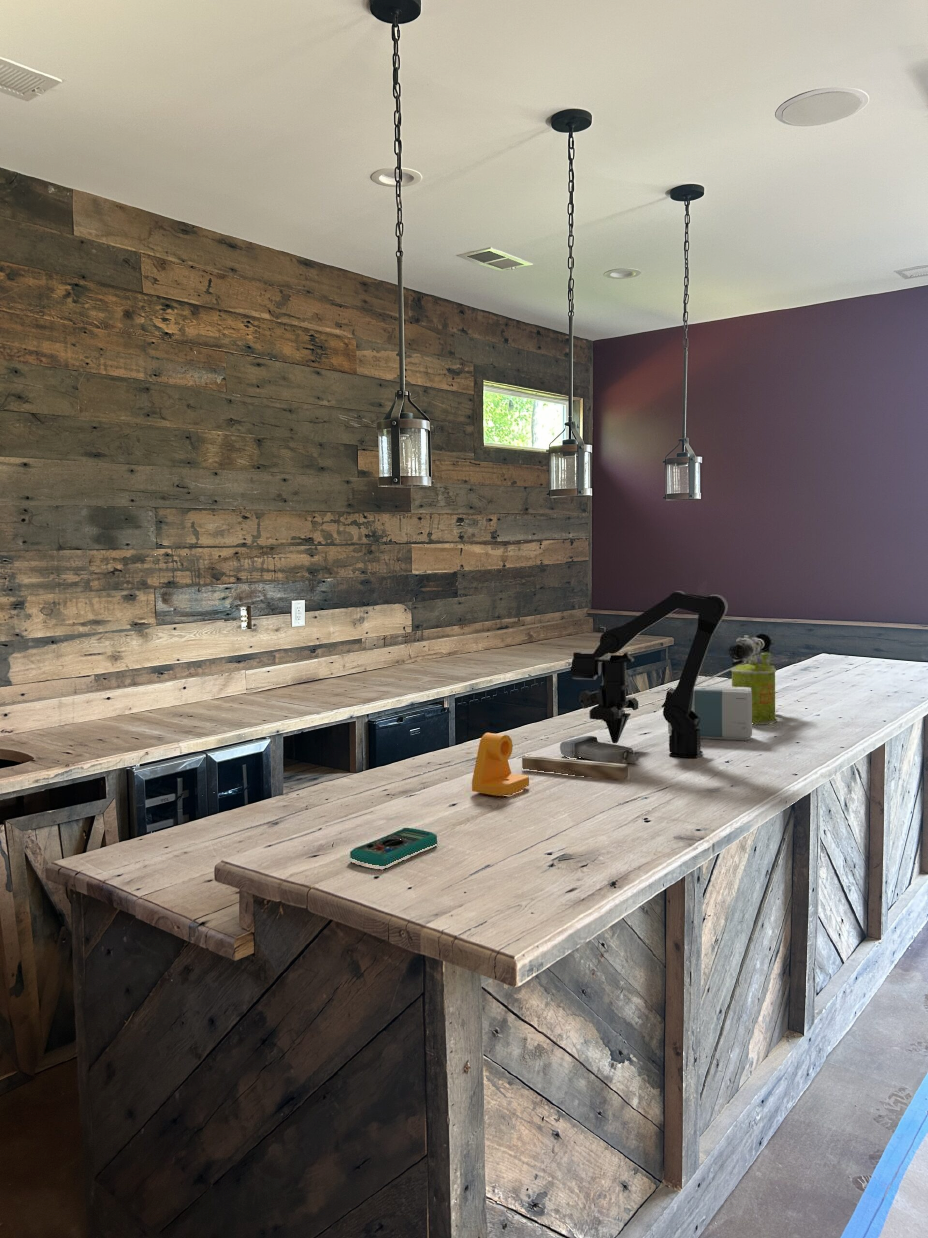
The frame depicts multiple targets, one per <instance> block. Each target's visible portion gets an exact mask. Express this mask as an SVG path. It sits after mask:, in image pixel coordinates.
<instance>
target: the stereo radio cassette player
mask: <svg viewBox="0 0 928 1238" xmlns="http://www.w3.org/2000/svg"><path fill="white" fill-rule="evenodd" d="M744 664H747V661H744V662H743V663H741V664H739V665H744ZM739 665H737V666H739ZM737 666H732V667H730V668H727V669H725V670H723V671H722V672H721V671H720V672H719V673H717V674H715V675H712V676H710V677H708V678H707V679H704V680H702V681H700V682H699V681H698V682H696V684H695V687H694V693H693V702H692V709H691V710H692V711H693V712H694V713H695V714H696V715H697V716H698V717H699V718H700V722H699V725H698V727H697V729H700V736H701V739H710V738H711V739H714V740H733V741H735V740H736V741H744V740H745V741H744V742H746V741H749V739H751V738H752V736H753V725H752V691H751V688H750V687H732V686H724V685H723V686H722V685H721V686H720V685H718V686H717V685H716V686H715V685H701V684H703V683H705V682H707V681H710V680H712V679H714V678H717V677H718V676H721V675H723V674H724V673H727V672H730V671H731V669H733V668H735V667H737ZM677 685H678V684H674V685H672V686H671V687H670V688H673V689H676V687H677ZM671 729H672V727H671V724H670V723H668V722H667V732H668V734H669V735H671Z"/></svg>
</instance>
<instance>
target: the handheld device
mask: <svg viewBox="0 0 928 1238" xmlns="http://www.w3.org/2000/svg"><path fill="white" fill-rule="evenodd" d="M559 750H560V754H561V755H564V757H565V756H567V757H570V758H579V757H582V758H581V759H585V760H589V761H596V762H606V763H617V764H628V763H629V764H635V763H638V762H639V760H640V759H639V756H638V755H637V754H635V751H634V748H632V747H628V746H624V745H621V744H616V743H608V742H600V741H598V737H597V736H594V735H582V736H579V737H576V738H571V739H566V740H563V741H561V742H560V744H559ZM629 764H628V765H629Z"/></svg>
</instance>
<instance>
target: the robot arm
mask: <svg viewBox="0 0 928 1238" xmlns="http://www.w3.org/2000/svg"><path fill="white" fill-rule="evenodd" d="M678 609H681V610H685V611H688V612H692V613H697V614H698V616H697V627H696V632H695V634H694V638H693V641H692V644H691V647H690V649H689V652H688V655H687V658H686V661H685V663H684V665H683V669H682V672H681V674H680V677H679V680H678V682H677V683H678V684H676V685H677V687H676V689H673V688H671V687H670V688H668V690H667V691H666V695H665V700H664V701H663V704H662V705H661V708H663V709H662V716H663V718H664V720H666V722H667V724H668V723H670V724H671V727H672V729H671V735H670V734H669V737H668V745H669V747H668V748H669V749H668V750H669V756H670V757H678V758H679V757H680V758H689V759H697V758H698V757H699V756H701V755H702V754H703V753H704V752H703V750H702V749H701V743H702V742H701V739H702V738H701V736H700V729H697V727H698V725H699V722H700V718H699V717H698V716H697V715H696V714H695V713H694V712H693V711H692V710H691V709H692V702H693V693H694V687H695V684H697V681H698V678H699V675H700V672H701V669H702V667H703V663H704V661H705V658H706V655H707V653H708V650H709V646H710V643H711V642H712V639H713V636H714V634H715V633H716V631H717V629H718V627H719V626H720V624H721V622H722V621H723V619H724V617H725V615H726V614H727V612H728V609H729V604H728V602H727V600H726V598H725V597H724V596H722V595H720V594H716V593H715V594H711V595H708V596H707V595H706V596H704V595H699V594H694V593H688V592H684V591H682V590H676V591H674V592H672V593H670V594H669V595H668V596H667V597H666V598H664V599H662V600H660V602H658V603H657V604H655V605H653V606H652V607H650V608H649V609H647V610H645V611H644V612H642V613H640V614H639V615H638V616H636V617H635V618H633V619H631V620H630V621H628V622H625V623H622V624H620V625H617V626H615V627H613V628H610V629H608V630H605V631H603V633H602V634H601V635H600V637H599V645H598V646H597V648H596V649H594V651H593V652H582V651H574V652H573V653H572V655H573V657H572V660H571V665H570V676H571V679H573V680H594V681H595V680H597V678H598V676H601V675H602V676H601V677H602V679H601V680H602V683H601V684H599V686H598V690H596V691H593V692H590V691H589V690H585V691H581V692H580V693H579V697H578V699H579V700H578V703H579V704H580V705H582V708H583V709H588V708H589V707H592V708H591V709H590V710H589V720H597V721H599V720H600V721H603V722H604V723H605V724H606V727H607V730H608V732H609V736H610V739H611V742H612V743H611V744H617V743H619V741H620V738H621V735H622V733H623V731H624V729H625V726H626V724H627V723H628V720H629V718H630V717H631V715H632V714H631V713H630V712H628V713H627V712H626V710H625V709H632V710H633V711H636V710H638V709H639V700H638V699H637V698H635V697H631V696H630V697H628V696H627V689H628V688H629V687H630V686H629V685H630V684H629V683H627V663H629V664H630V663H632V662H634V661H635V658H634V657H632V656H631V655H630V654H629V652H628V651H625V652H624V653H623V654H616V653H619V652H621V651H623V650H624V649H625V648H626V647H627V646H628V645H629V644H630V643H632V641H634V640H635V639H636V638H637V637H638V636H639V635H640V634H641V633H642V632H644V631H645V630H646V629H648V628H650V627H651V626H653V625H655V624H656V623H658V622H659V621H661V620H663V619H664V618H666V617H667V616H670V615H671V614H672V613H674V612H675V611H677V610H678ZM608 654H611V655H610V657H609V658H602V657H605V656H607V655H608Z"/></svg>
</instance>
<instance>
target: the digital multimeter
mask: <svg viewBox="0 0 928 1238" xmlns="http://www.w3.org/2000/svg"><path fill="white" fill-rule="evenodd" d="M400 839H401V840H400ZM435 844H437V845H438V835H437V834H436V833H433V832H432V831H428V830H424V829H417V828H412V827H403V828H401V829H398V830H396V831H393V832H392V833H390V834H389V833H388V834H387V835H385V836H383V837H380V838H377V839H375V840H372V841H369V842H367V843H365V844H362V845H359V846H356V847H354V848H352V850H350V851H349V858H352V859H355V860H357V861H360V862H364V863H368V864H372V865H379V866H386V865H388V864H390V863H392V862H394V861H396V860H399V859H401V858H403V857H405V856H407V855H411V854H413V853H415V852H418V851H420V850H422V849H425V848H427V847H430V846H433V845H435Z"/></svg>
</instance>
